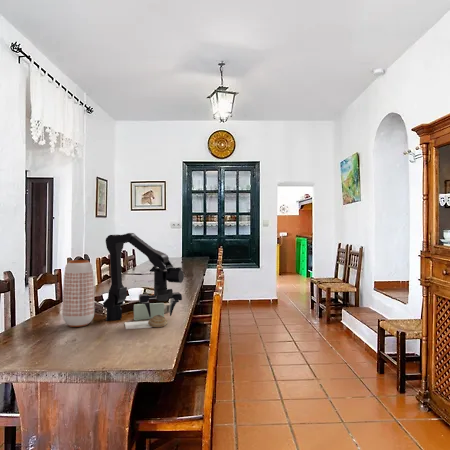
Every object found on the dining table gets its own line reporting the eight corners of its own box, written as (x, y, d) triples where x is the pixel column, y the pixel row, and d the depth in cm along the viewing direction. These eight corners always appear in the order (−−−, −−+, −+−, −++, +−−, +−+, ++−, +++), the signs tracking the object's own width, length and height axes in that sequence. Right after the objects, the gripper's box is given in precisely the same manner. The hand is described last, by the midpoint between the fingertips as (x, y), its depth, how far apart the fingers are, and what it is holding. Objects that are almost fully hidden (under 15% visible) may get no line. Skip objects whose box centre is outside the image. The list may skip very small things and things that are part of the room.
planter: (83, 329, 164) (84, 262, 164) (55, 327, 166) (56, 261, 166) (100, 321, 177) (100, 259, 177) (73, 320, 179) (74, 259, 179)
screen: (134, 320, 178) (134, 305, 178) (133, 318, 182) (133, 303, 182) (164, 318, 182) (164, 303, 183) (163, 316, 186) (163, 302, 186)
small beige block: (164, 313, 194) (164, 305, 194) (160, 311, 198) (161, 303, 198) (172, 312, 196) (172, 304, 196) (168, 310, 200) (168, 303, 200)
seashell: (170, 318, 175) (166, 315, 167) (167, 330, 173) (162, 328, 165) (153, 315, 176) (148, 312, 169) (150, 327, 174) (144, 325, 167)
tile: (125, 329, 164) (125, 328, 164) (124, 323, 174) (124, 322, 174) (152, 327, 167) (152, 326, 167) (149, 321, 177) (149, 320, 177)
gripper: (141, 285, 164) (140, 322, 164) (184, 283, 170) (184, 319, 170) (138, 281, 175) (138, 316, 175) (179, 280, 180) (179, 313, 180)
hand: (160, 316), depth 174 cm, fingers open, 9 cm apart
